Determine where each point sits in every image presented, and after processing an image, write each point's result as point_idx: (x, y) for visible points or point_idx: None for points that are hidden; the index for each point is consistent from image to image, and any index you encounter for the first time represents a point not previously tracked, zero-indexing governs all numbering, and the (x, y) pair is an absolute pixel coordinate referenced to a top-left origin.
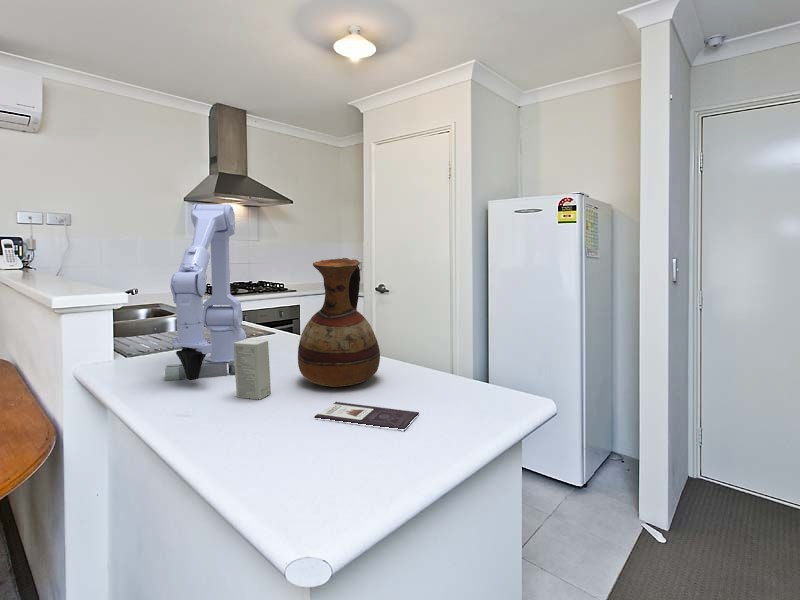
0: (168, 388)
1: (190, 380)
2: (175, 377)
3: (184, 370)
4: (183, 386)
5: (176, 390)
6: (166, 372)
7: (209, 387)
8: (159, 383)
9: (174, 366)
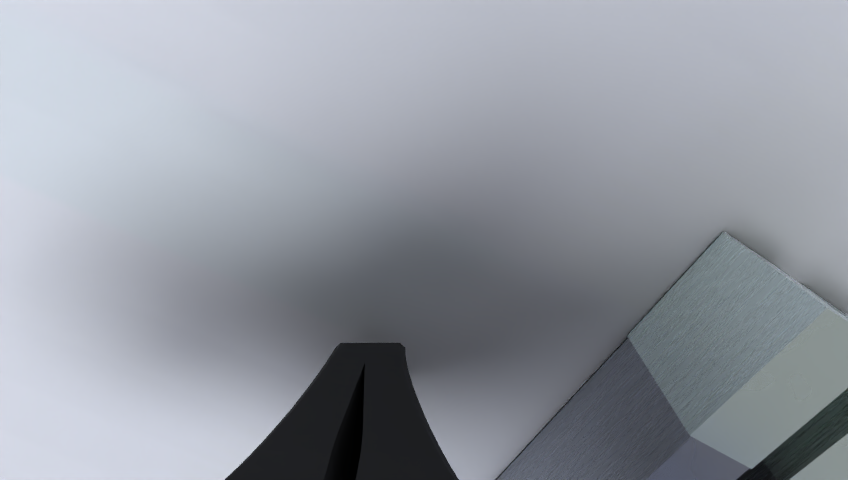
0: (408, 108)
1: (338, 345)
2: (660, 326)
3: (415, 402)
4: (353, 250)
5: (254, 128)
6: (773, 292)
7: (129, 378)
8: (699, 141)
9: (823, 440)
